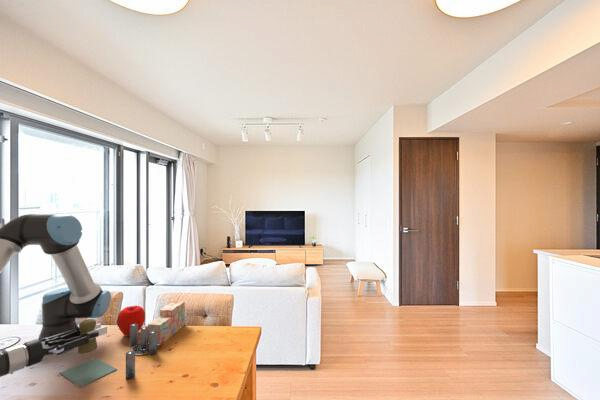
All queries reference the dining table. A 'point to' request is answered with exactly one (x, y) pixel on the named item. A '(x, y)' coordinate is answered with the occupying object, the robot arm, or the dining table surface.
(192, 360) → the dining table surface
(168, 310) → the stack of blocks
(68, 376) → the mat
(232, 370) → the dining table surface
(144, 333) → the spacer posts
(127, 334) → the apple
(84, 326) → the cork
